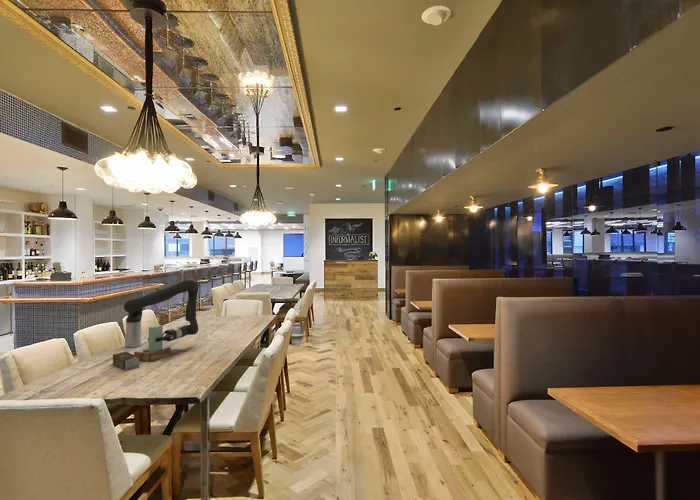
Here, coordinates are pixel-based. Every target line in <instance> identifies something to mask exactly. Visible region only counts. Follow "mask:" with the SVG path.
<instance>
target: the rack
mask: <svg viewBox="0 0 700 500" xmlns="http://www.w3.org/2000/svg"><path fill="white" fill-rule="evenodd" d="M171 350H172V347H167V348H162V350H159V351H156V352H153V353H147V352H143V351H134V352H133V355H135V356H137V357H139V362H146V361H147V362H146V363H153V362H156V361H158V360H161V359H165V358H167V357H171V356H172V354H171Z"/></svg>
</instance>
